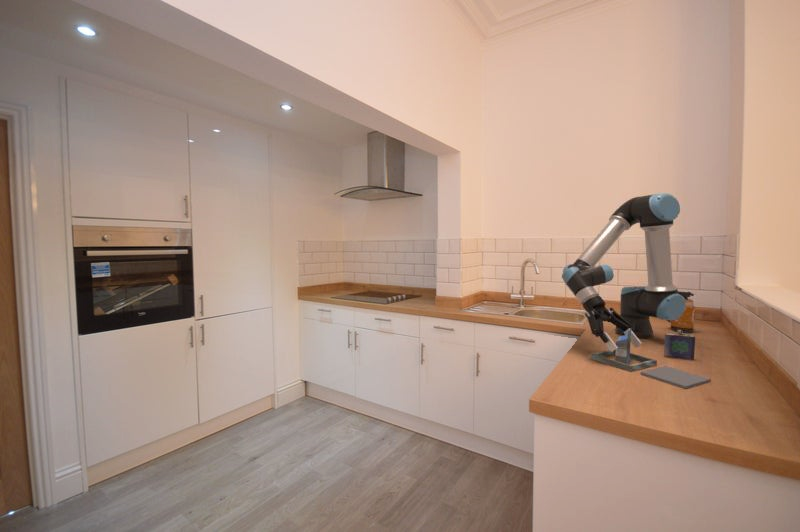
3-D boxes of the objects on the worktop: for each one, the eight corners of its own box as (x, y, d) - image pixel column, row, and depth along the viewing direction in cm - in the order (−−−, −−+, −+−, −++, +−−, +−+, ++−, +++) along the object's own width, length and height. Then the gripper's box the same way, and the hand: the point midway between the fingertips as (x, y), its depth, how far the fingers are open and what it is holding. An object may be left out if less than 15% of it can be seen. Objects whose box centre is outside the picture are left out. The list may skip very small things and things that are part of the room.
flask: (664, 357, 135) (666, 329, 134) (662, 355, 137) (664, 328, 137) (695, 360, 131) (696, 332, 130) (692, 358, 134) (694, 330, 133)
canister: (694, 334, 169) (696, 292, 168) (665, 330, 176) (667, 291, 175) (693, 330, 176) (695, 290, 175) (665, 327, 183) (667, 289, 182)
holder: (615, 353, 139) (616, 348, 139) (656, 365, 126) (657, 360, 126) (590, 358, 133) (590, 353, 133) (630, 371, 120) (630, 366, 119)
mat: (665, 368, 123) (665, 365, 123) (710, 381, 111) (710, 378, 111) (640, 374, 117) (640, 371, 117) (685, 388, 105) (685, 386, 105)
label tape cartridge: (618, 357, 134) (619, 325, 133) (630, 360, 132) (631, 327, 131) (614, 364, 127) (615, 330, 127) (627, 366, 125) (628, 332, 124)
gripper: (605, 303, 148) (640, 348, 136) (562, 308, 138) (596, 357, 125) (617, 293, 143) (655, 338, 130) (574, 296, 133) (611, 346, 120)
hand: (626, 347), depth 128 cm, fingers open, 13 cm apart
